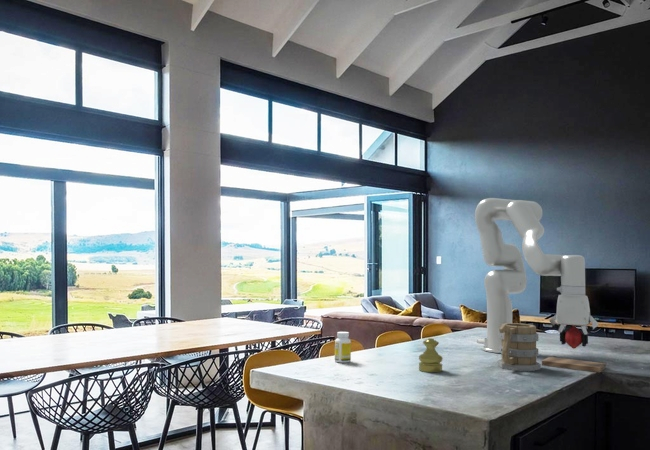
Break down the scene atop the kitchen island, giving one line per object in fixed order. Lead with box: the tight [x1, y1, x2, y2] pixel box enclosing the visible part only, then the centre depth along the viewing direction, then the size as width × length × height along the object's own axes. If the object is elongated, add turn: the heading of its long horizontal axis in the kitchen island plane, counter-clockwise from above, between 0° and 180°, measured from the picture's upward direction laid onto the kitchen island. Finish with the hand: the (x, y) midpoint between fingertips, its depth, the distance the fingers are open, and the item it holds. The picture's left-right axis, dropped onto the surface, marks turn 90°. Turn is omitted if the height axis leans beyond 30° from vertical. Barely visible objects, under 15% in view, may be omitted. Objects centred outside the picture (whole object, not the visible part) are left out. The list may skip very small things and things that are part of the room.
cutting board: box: [541, 356, 607, 373], centre depth 187 cm, size 18×10×2 cm, turn 54°
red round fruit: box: [564, 325, 583, 350], centre depth 187 cm, size 6×6×8 cm
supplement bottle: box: [334, 331, 352, 364], centre depth 187 cm, size 5×5×10 cm
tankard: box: [496, 322, 542, 372], centre depth 181 cm, size 20×13×15 cm, turn 135°
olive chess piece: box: [418, 337, 443, 374], centre depth 175 cm, size 7×7×10 cm
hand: (573, 344), depth 187 cm, fingers closed on red round fruit, 5 cm apart
